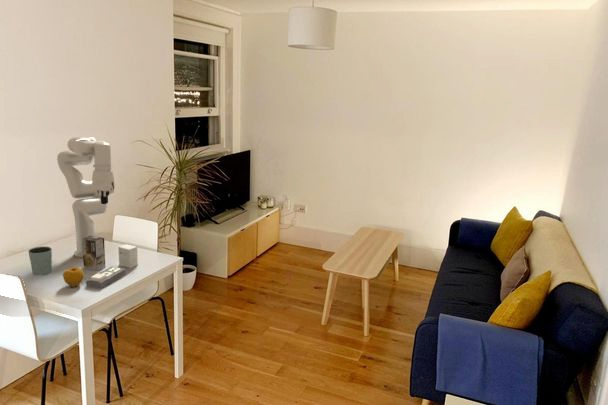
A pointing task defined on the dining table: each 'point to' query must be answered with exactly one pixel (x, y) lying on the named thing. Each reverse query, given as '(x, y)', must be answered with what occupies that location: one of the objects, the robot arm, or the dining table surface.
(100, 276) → the key
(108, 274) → the key middle
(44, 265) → the green cup
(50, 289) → the dining table surface
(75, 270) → the apple
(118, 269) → the key
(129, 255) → the small box
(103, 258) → the coffee box
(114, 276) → the keypad housing
